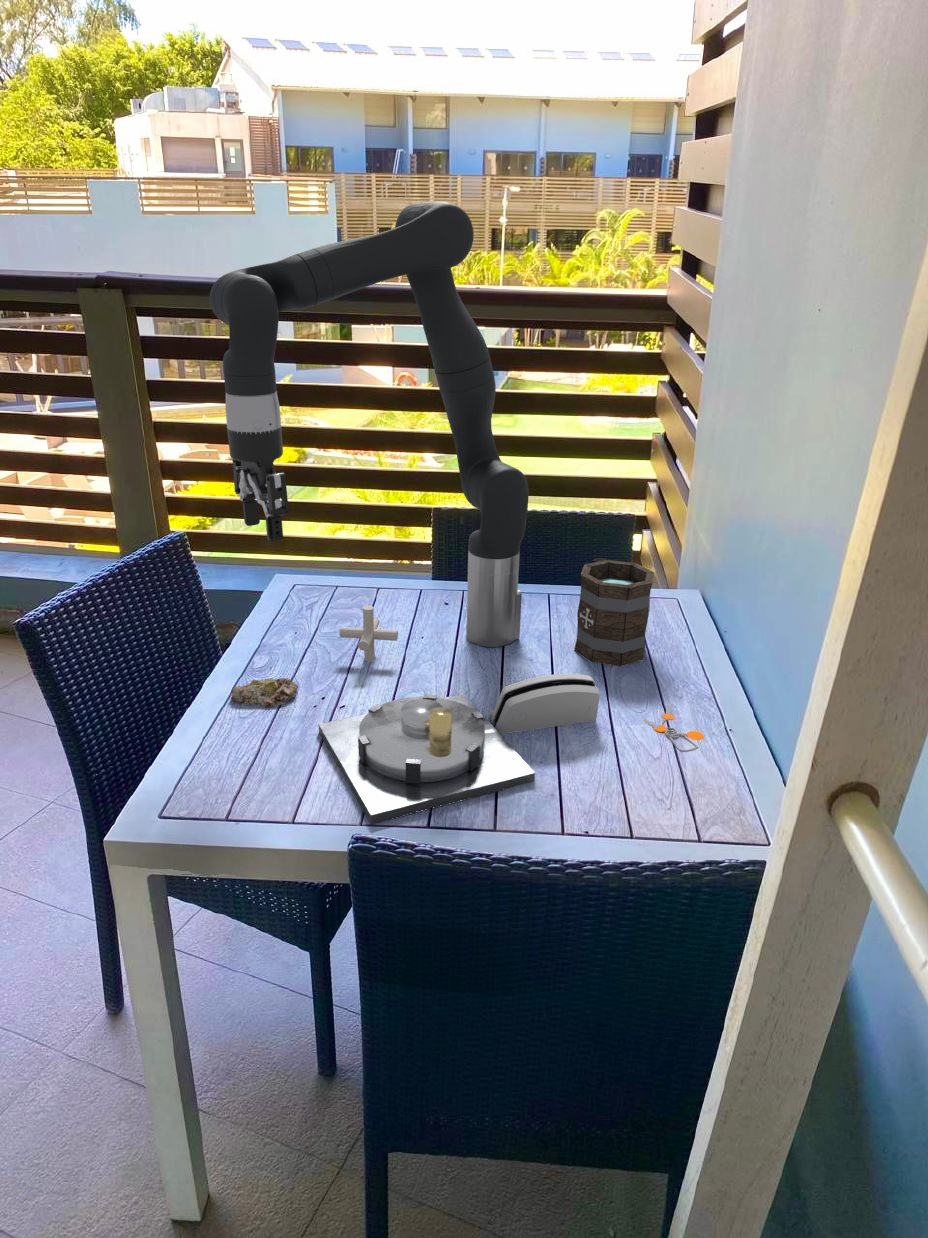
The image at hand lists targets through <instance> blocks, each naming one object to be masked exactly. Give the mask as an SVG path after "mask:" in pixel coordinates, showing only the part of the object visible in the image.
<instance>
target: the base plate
mask: <svg viewBox="0 0 928 1238" xmlns="http://www.w3.org/2000/svg"><path fill="white" fill-rule="evenodd" d="M443 698H444V699H448V700H452V701H455V702H458V703H461V704H463V705H465V706H467V707H469V708H471V709H472V710H473V711H479V709H478V708H477V707H476V706H475V705H474V704H473V703H472V702H471V700H469V698H467V696H466V695H465V694H464V693H459V694H455V695H451V696H446V697H443ZM367 714H368V713H365V714H360V715H354V716H351V717H350V716H349V717H345V718H341V719H337V720H331V721H327V722H322V723H318V733H319V735H320V737H321V738H322V741H323V742H324V744H325V746H326V748H327V749H328V752H329V753H330V754H331V756H332V757H333V759H334V761H335V763H336V765H337V767H338V768H340V769H339V770H340V772H341V774H342V775H343V778H344V779H345V781H346V782H347V784H348V786H349V787H350V790H351V791H352V793H353V795H354V796H355V799H356V800H357V802H358V803H359V806H360V807H361V809H362V811H363V812H364V815H365V816H366V817H367V819H368V821H369V823H370V825H376V824H378V823H379V824H380V823H382V822H386V820H387V821H390V820H393V819H392V818H394V819H397V818H396V817H398V818H401V817H400V816H402V817H404V816H403V815H406V816H408V815H407V814H409V815H411V814H410V813H413V814H416V813H415V812H416V811H421V810H425V809H428V810H431V809H430V808H432V809H434V808H433V807H436V808H439V807H438V806H440V805H444V806H447V805H446V804H448V805H450V804H449V803H451V804H454V803H453V802H455V803H458V801H459V802H461V801H460V800H463V801H465V800H464V799H467V800H469V799H468V798H470V799H474V798H478V797H480V796H485V795H488V794H492V793H496V792H500V791H504V790H508V789H511V788H515V787H519V786H522V785H527V784H528V785H529V784H532V783H534V782H535V781H536V779H535V777H536V772H535V771H534V769H532V768H531V767H530V766H529V764H528V763H527V762H526V761H525V760H524V759H523V758H522V756H521V755H520V754H519V753H518V752H517V751H516V750H515V749H514V748H513V747H512V746H511V744H510V743H509V742H508V741H507V740H506V739H505V738H504V737H503V736H502V734H499V733H498V732H497V730H496V729H495V727H494V726H493V725H492V724H491V722H490V721H488V719H486V717H485V716H484V715H483V714H482V716H483V717H484V726H485V744H484V753H483V756H482V758H481V759H480V761H479V765H478V766H477V767H475V768H474V769H473V770H472V771H470V770H468V771H467V772H465V773H463V774H461V775H458V776H456V777H453V778H449V779H445V780H440V781H433V782H421V783H420V784H418V783H406V781H403V780H398V779H394V778H390V777H387V776H385V775H382V774H380V773H378V772H377V771H375V770H373V769H372V768H371V767H370V766H368V765H367V764H366V763H363V762H362V761H361V759H360V757H359V749H358V737H359V727H360V723H361V721H362V719H363V718H364V717H365V716H366V715H367ZM440 807H441V806H440ZM425 811H426V810H425ZM421 812H422V811H421Z"/></svg>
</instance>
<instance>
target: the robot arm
mask: <svg viewBox="0 0 928 1238" xmlns="http://www.w3.org/2000/svg"><path fill="white" fill-rule="evenodd" d="M474 234H475V233H474V227H473V223H472V220H471V218H470V216H469V215H468V214H467V212H466V211H465V210H464V209H463V208H461V207H460V206H458V205H457V204H454V203H451V202H449V201H440V200H439V201H421V202H420V201H419V202H414V203H411V204H409V205H406V206H405V207H404V208H403V209H402V210H401V211H400V213H399V214H398V216H397V219H396V222H395V227H393V228H392V229H389V230H386V231H382V232H379V233H376V234H374V233H373V234H371V235H367V236H361V237H357V238H352V239H347V240H341V241H337V242H333V243H328V244H325V245H321V246H318V247H315V248H314V247H313V248H311V249H307V250H304V251H301V252H299V253H296V254H293V255H291V256H288V257H286V258H283V259H281V260H277V261H274V262H270V263H263V264H259V265H254V266H249V267H248V266H247V267H244V268H240V269H237V270H234V271H230V272H227V273H225V274H223V275H222V276H220V277H218V279H217V280H215V282H214V283H213V284H212V287H211V288H210V289H211V290H210V292H209V305H210V308H211V310H212V313H214V315H215V316H216V318H217V319H218V320H219V321H220V322H222V323H224V324H226V325H227V326H228V329H229V330H228V331H229V336H228V337H229V349H228V350H226V351H225V353H224V354H223V356H222V358H223V359H222V369H223V379H224V389H225V407H224V408H225V418H226V419H225V420H226V421H225V422H226V429H227V430H226V431H227V438H228V447H229V456H230V457H231V458H232V470H233V472H232V474H233V483H234V484H233V485H234V487H233V488H234V493H235V494H236V495H239V500H240V501H241V502H242V510H243V511H242V512H243V519H244V520H243V521H244V525H246V526H248V527H252V526H257V525H259V524H260V522H261V521H260V520H261V519H260V507H259V505H261V507H262V509H263V512H264V515H265V528H266V538H267V540H268V541H269V542H272V543H273V542H277V541H282V540H283V539H284V529H283V520H282V519H283V517H282V516H284V515H289V512H290V509H289V500H288V499H289V498H288V489H287V480H286V474H285V473H284V472H278V473H277V471H276V470H275V466H274V465H275V464H274V462H275V461H276V460H278V459H280V458H281V457H282V456H283V454H284V447H283V434H282V421H281V420H282V419H281V409H280V402H279V397H278V391H277V378H276V375H277V374H276V367H275V366H276V365H275V353H276V348H277V339H278V330H279V315H280V314H279V313H281V312H286V311H301V310H306V309H309V308H312V307H315V306H318V305H321V304H324V303H326V302H327V303H328V302H329V301H332V300H335V299H338V298H340V297H343V296H346V295H348V294H352V293H354V292H357V291H359V290H362V289H365V288H367V287H369V286H373V285H375V284H378V283H382V282H385V281H388V280H391V279H394V278H399V277H402V276H406V278H407V281H408V284H409V286H410V288H411V292H412V294H413V296H414V297H413V298H414V300H415V302H416V306H417V308H418V312H419V316H420V319H421V324H422V328H423V330H424V335H425V338H426V342H427V346H428V349H429V352H430V357H431V361H432V366H433V369H434V373H435V377H436V381H437V386H438V387H439V388H438V389H439V392H440V395H441V399H442V402H443V405H444V408H445V412H446V416H447V420H448V424H449V428H450V430H451V433H452V438H453V442H454V446H455V451H456V452H455V453H456V458H457V466H458V470H459V471H458V472H459V477H460V484H461V488H462V489H461V490H462V493H463V495H464V497H465V499H466V500H467V502H468V503H469V504H470V505H471V506H472V507H473V508H475V509H477V510H479V511H481V514H480V528H479V529H477V530H475V531H472V532H471V534H470V535H469V537H468V551H467V552H468V553H467V554H468V555H467V557H468V558H467V592H466V593H467V595H466V596H467V598H466V599H467V600H466V601H467V602H466V625H465V626H466V627H465V629H466V633H465V634H466V635H465V636H466V639H467V640H468V641H470V643H472V644H474V645H478V646H481V647H490V648H496V647H504V646H507V645H509V644H511V643H513V642H514V641H515V640H520V635H521V619H522V618H521V617H522V616H521V615H522V599H523V593H522V591H521V590H520V589H519V588H518V587H519V571H520V570H519V569H520V551H521V550H520V549H521V548H520V547H521V544H522V542H523V539H524V537H525V533H526V527H527V518H528V507H529V496H530V495H529V494H530V493H529V490H530V489H529V483H528V480H527V478H526V476H525V474H524V473H523V472H522V471H521V470H519V469H518V468H516V467H514V466H511V465H510V464H507V463H504V462H503V461H502V460H501V457H500V455H499V453H498V449H497V447H496V446H497V445H496V442H495V439H494V436H493V435H494V434H493V429H492V417H493V416H492V415H493V410H494V405H495V399H496V391H497V390H496V389H497V388H496V378H495V373H494V369H493V364H492V360H491V357H490V356H491V355H490V352H489V349H488V345H487V343H486V341H485V339H484V336H483V335H482V332H481V331H480V329H479V327H478V326H477V323H476V322H475V321H474V319H473V317H472V316H471V315H470V313H469V311H468V310H467V308H466V307H465V305H464V303H463V301H462V298H461V297H460V295H459V292H458V289H457V287H456V284H455V280H454V275H453V272H452V268H454V267H456V266H458V265H460V263H462V262H463V261H464V260H465V259H466V258H468V257H467V256H468V255H469V254H470V252H471V250H472V247H473V244H474V236H475V235H474Z"/></svg>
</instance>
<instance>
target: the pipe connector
mask: <svg viewBox="0 0 928 1238" xmlns="http://www.w3.org/2000/svg"><path fill="white" fill-rule="evenodd" d="M362 621H363V622H362V624H363V625H362V626H363V627H347V626H346V627H345V626H341V627H340V629H339V637H340V638H346V639H360V640H359V642H358V645H357V647H358V649H359V650H360V651H363V655H364V661H365V662H373V661H375V659H376V658H375V640H379V641H392V642H394V641H395V642H397V641H398V640H399V639H398V637H399V631H398V630H395V629H394V630H392V629H380V628H378V627H379V625H380V619H379V618H378V617H376V616H374V606H372V605H364V606H363V607H362Z"/></svg>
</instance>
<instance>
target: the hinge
mask: <svg viewBox="0 0 928 1238" xmlns="http://www.w3.org/2000/svg"><path fill="white" fill-rule="evenodd" d="M600 697H601V694H600V690H599V688H598V687H597V686H596V681H595V680H594V678H593V677H592V676H590V675H587V674H580V673H579V674H577V673H557V674H549V675H547V674H546V675H541V676H536V677H531V678H527V679H523V680H521V681H517V682H515V683H511V684H509V685H506V686H504V687H503V688H502V689H501V692H500V694H499V697H498V699H497V701H496V704H495V706H494V709H491V710H490V712H489V716H488V717H489V720H491V723H493V724H496V725H495V727H494V728H495V729H496V730H497V732H498V733H499V734H500V735H502V734H503V735H504V734H510V733H511V734H512V733H515V732H516V733H517V732H522V731H523V732H524V731H531V730H538V729H539V730H540V729H545V728H553V727H559V726H560V727H561V726H567V725H573V724H581V723H588V722H595V721H597V718H598V710H599V704H600Z"/></svg>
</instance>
